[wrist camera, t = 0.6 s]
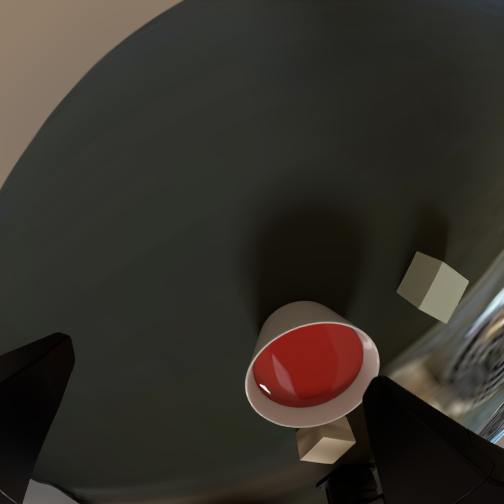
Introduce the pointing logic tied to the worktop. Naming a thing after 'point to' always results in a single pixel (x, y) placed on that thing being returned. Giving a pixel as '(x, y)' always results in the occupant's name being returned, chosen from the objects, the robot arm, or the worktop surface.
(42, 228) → the worktop surface
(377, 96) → the worktop surface
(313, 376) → the candle
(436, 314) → the sage block
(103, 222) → the worktop surface
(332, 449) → the birch block
